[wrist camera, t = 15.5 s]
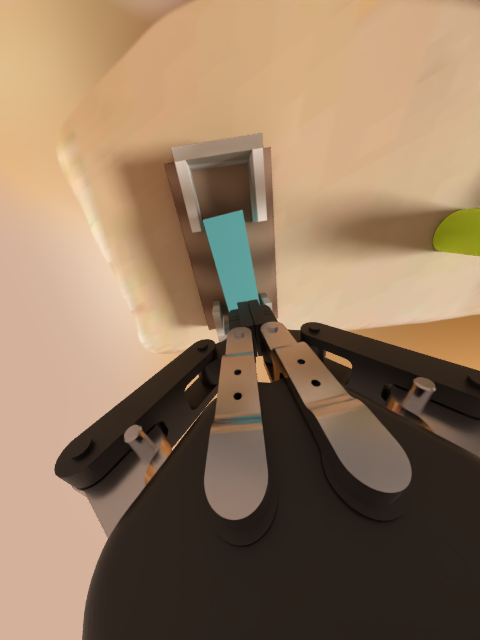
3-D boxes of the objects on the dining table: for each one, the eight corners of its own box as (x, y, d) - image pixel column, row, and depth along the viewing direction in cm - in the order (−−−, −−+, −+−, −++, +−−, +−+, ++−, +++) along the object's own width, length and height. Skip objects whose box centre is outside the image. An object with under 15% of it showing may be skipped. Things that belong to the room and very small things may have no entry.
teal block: (207, 221, 22) (202, 220, 17) (237, 213, 22) (242, 209, 17) (233, 315, 29) (235, 335, 24) (256, 309, 29) (264, 328, 24)
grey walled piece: (167, 167, 21) (151, 150, 16) (267, 151, 21) (281, 130, 16) (209, 325, 31) (207, 343, 26) (275, 314, 31) (285, 330, 27)
